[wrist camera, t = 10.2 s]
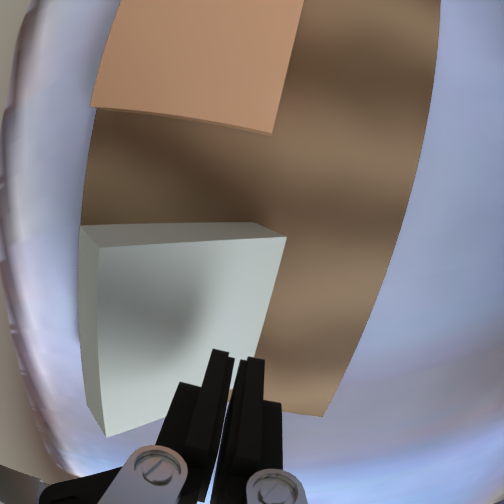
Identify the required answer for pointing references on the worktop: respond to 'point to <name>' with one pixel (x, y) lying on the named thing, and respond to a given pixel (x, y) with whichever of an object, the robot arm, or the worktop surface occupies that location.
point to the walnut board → (296, 180)
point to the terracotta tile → (199, 60)
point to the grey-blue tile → (167, 309)
